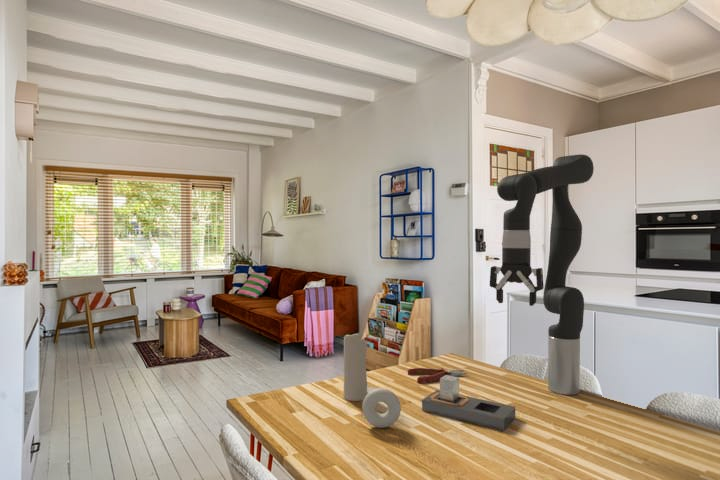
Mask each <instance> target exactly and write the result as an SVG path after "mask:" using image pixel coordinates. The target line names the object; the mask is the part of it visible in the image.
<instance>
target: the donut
mask: <svg viewBox="0 0 720 480" xmlns="http://www.w3.org/2000/svg"><path fill="white" fill-rule="evenodd" d="M379 403H383V404H385V405H386V406H387V411H386V412H384V413H380V412H378V411H377V410H376V405H377V404H379ZM401 405H402V404H401V401H400V399H399V397H398V395H396V394H395V392H394V391H392V390H390V389H388V388H384V387H379V388H377V389H374V390H372V391H370V392H369V393H368V394H367V395H366V397H365V399H364V400H362V406H361V409H362V410H361V411H362V414H363V416H364V419H365V420H366V421H367V422H368V423H369V424H370V425H371V426H374V427H375V428H380V429H383V428H389V427H391V426H393V425H394V424H395V423H396V422H397V421H398V420H399V418H400V416H401V411H402V406H401Z"/></svg>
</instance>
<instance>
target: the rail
mask: <svg viewBox="0 0 720 480" xmlns="http://www.w3.org/2000/svg"><path fill="white" fill-rule="evenodd" d="M421 411H422V412H427V413H431V414H436V415H439V416H444V417H447V418H451V419H456V420H458V421H463V422H465V423H466V422H467V423H471V424H475V425H479V426H482V427H487V428H491V429H495V430H497V431H498V430H499V431H502V432H504V431H506V429H507V428H508V427H509V426H510V425H511V423H512V422H513V421H514V420H515V419H516V406H515V405H510V404H504V403H500V402H495V401H490V400H487V399H481V398H476V397H472V396H467V395H463V394H459V401H458V402H457V403H456V404H455V403H451V402H446V401H442V400H440V389H436V390H435V391H433V392H431V393H430V394H429V395H427V396H426V397H424V398H422V400H421Z"/></svg>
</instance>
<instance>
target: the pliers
mask: <svg viewBox="0 0 720 480" xmlns="http://www.w3.org/2000/svg"><path fill="white" fill-rule="evenodd" d="M407 375H411V376H412V375H421V376H418V377H417V379H416V381H417V383H418V384H431V383H434V382H435V383H436V382H437V381H440V378H442V377H443V376H445V375H449V376H454V377H460V376H464V375H468V373H467V372H465V371H464V370H461V369H460V370H458V369H456V370H455V369H449V370H445V369H444V368H442V367H441V368H440V369H438V368H427V367H415V368H413V367H412V368H409V369H408V370H407ZM422 375H423V376H422Z"/></svg>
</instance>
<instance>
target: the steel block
mask: <svg viewBox="0 0 720 480" xmlns="http://www.w3.org/2000/svg"><path fill="white" fill-rule="evenodd" d="M439 390H440V400H442V401H446V402H451V403H455V404H456V403H457V402H458V401H459V395H460V376H449V375H445V376H443V377H442V378H440V380H439Z"/></svg>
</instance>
